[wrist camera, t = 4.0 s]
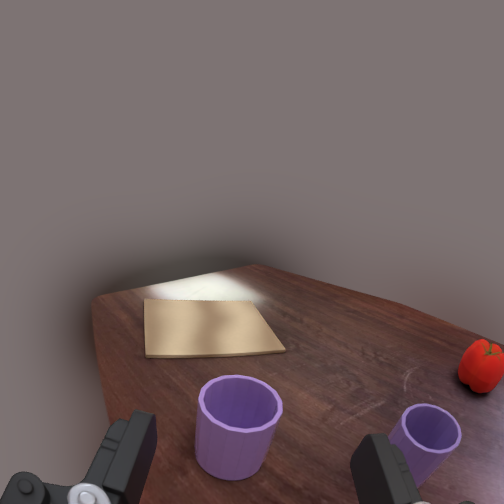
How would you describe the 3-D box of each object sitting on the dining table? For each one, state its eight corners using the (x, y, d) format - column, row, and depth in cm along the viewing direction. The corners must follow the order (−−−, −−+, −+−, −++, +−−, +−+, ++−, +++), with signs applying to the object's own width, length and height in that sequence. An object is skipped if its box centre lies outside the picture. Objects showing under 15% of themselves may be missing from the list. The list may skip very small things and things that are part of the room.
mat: (145, 358, 35) (145, 354, 35) (144, 301, 50) (144, 298, 49) (284, 352, 42) (285, 349, 42) (250, 303, 57) (251, 300, 56)
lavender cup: (203, 485, 19) (209, 437, 17) (189, 432, 25) (192, 376, 23) (273, 473, 22) (296, 423, 19) (250, 426, 28) (265, 371, 25)
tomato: (453, 365, 42) (471, 329, 39) (490, 379, 36) (509, 344, 34) (450, 391, 34) (472, 352, 32) (492, 407, 29) (516, 369, 27)
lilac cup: (387, 509, 17) (433, 464, 15) (354, 465, 23) (388, 416, 21) (429, 481, 19) (472, 433, 17) (397, 445, 25) (430, 396, 23)
